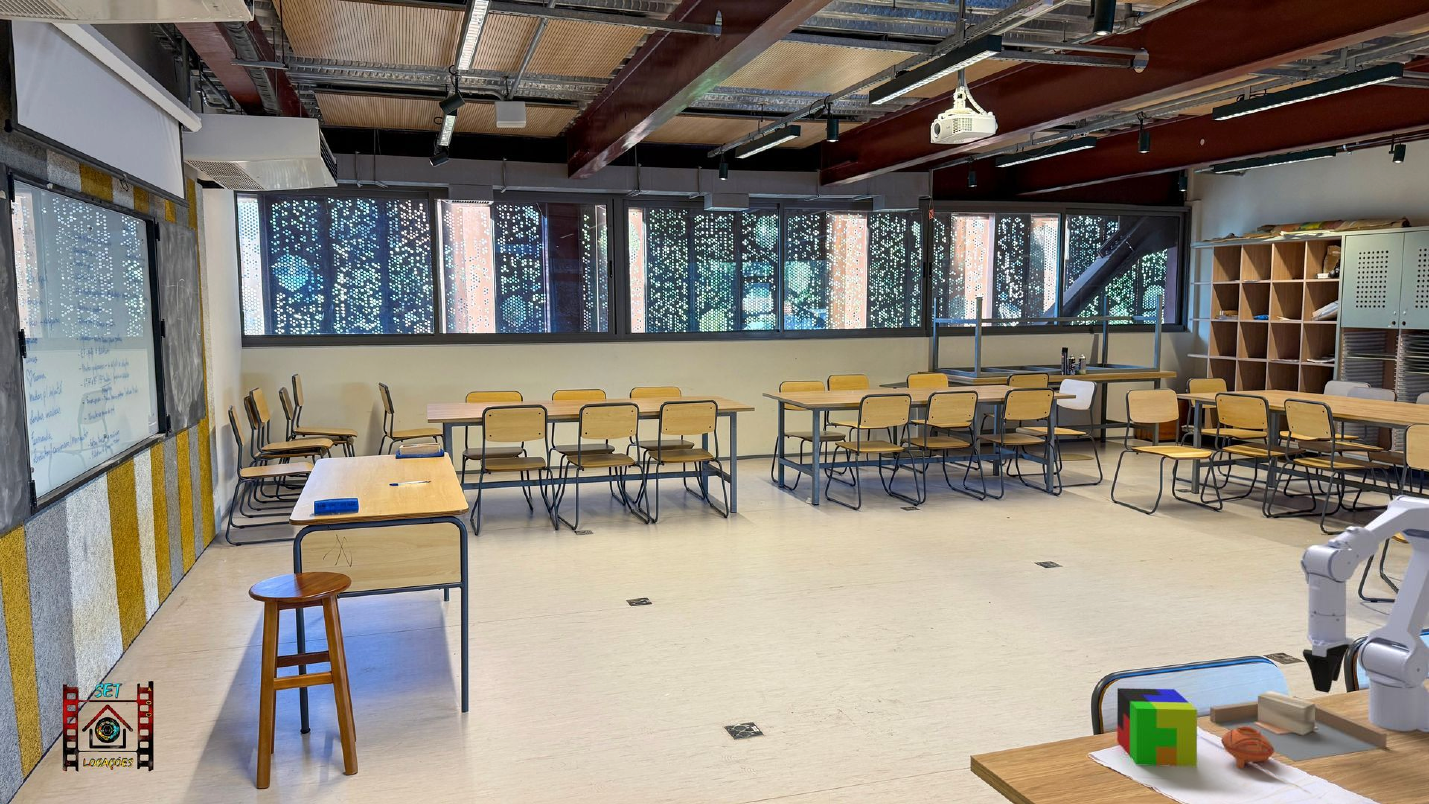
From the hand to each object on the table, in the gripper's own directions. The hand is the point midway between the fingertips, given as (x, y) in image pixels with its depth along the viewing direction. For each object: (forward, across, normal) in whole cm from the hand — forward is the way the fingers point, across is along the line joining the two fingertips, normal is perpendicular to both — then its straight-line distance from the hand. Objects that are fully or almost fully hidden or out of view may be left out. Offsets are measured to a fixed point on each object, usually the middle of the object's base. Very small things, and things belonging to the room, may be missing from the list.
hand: (1326, 685), depth 170 cm
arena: (+10, -3, +4) cm, 11 cm away
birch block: (+9, 0, +6) cm, 11 cm away
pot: (+10, -20, +8) cm, 24 cm away
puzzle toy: (+10, -26, +21) cm, 35 cm away
